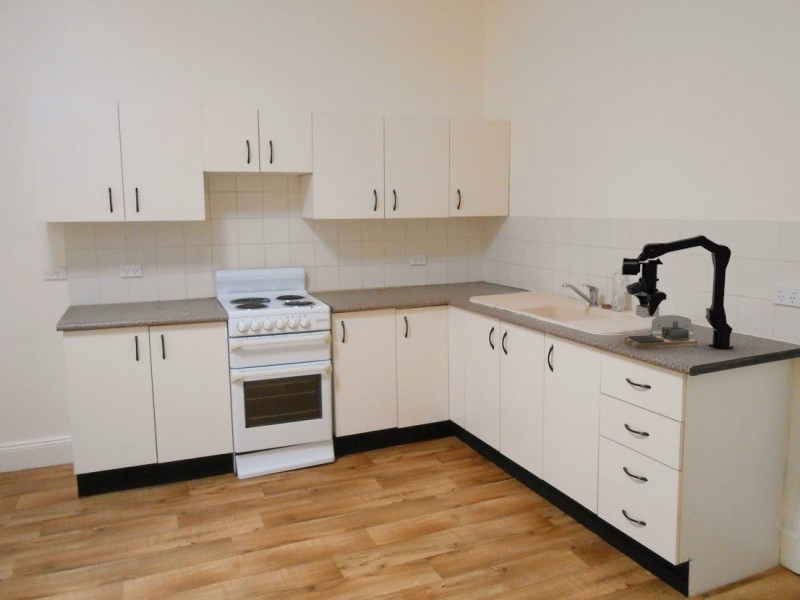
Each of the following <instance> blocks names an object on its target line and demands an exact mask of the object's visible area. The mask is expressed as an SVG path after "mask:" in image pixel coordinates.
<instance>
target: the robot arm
mask: <svg viewBox="0 0 800 600" xmlns="http://www.w3.org/2000/svg"><path fill="white" fill-rule="evenodd" d="M697 247H701V248H703V249H705V250H706V251H708V252H710V254H711V262H712V266H713V279H712V294H711V295H712V297H711V304H710V307H705V310H706V315H705V319H706V320H707V323H708V324H709V325H710V326H711V327H712V329H713V332H712V343H709V344H708V346H710V347H712V348H715V349H721V350H722V349H734V346H732V345H730V344H731V343H730V341H731V334H732V332H733V327H732V326H731V325H729V324H728V323H727V314H726V309H725V305H724V304H725V291H726V288H725V287H726V275H727V274H726V272H727V268H728V265H729V262H730V260H731V256H732V251H731V249H730V247H729V246H726V245H725V244H718V243H716V242H714V240H713V241H712V240H711V239H709V238H707V236H705V235H702V234H698V235H696V236H693V237H687V238H684V239H683V238H682V239H678V240H674V241H668V242H653V243H651V242H650V243H646V244H644V245H643V246H642V250H641V253H640V254H639V255H637V257H636V258H629V257H623V258H622V264H621V275H622V276H638V274H641V277H639V278H638V280H637V281H636V282H633V283H629V284H627V285H626V286H625V288H626V291H627V294H628V295H631V296H634V297H635V298H636V299H638V303H639V305H649V314H650V316H653V315H654V313H655V311H656V309H657V308H658V307H660V304H661V303H662V302H663V301H666V300H667V294H666V292H664V291H661V290H659V288H657V285H658V284H657V283H658V282H660V278H658V265H664V262H662V261H661V259H660V258H659V257H662V256H664V255H666V254H669V253H672V252H677V251H682V250H686V249H691V248H697Z"/></svg>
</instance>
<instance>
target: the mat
mask: <svg viewBox="0 0 800 600" xmlns="http://www.w3.org/2000/svg"><path fill="white" fill-rule="evenodd" d="M628 337H629V338H630V339H632V340H634V341H636V342H638V343H654V342H664V340H662V339H660V338H657V337H655V336H653V335H651V334H650V335H649V334H647V335H629V336H628Z"/></svg>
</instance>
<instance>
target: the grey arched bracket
mask: <svg viewBox="0 0 800 600" xmlns="http://www.w3.org/2000/svg"><path fill="white" fill-rule="evenodd" d="M651 321H652V322H651V329H650V335H653V336H661V334H662V327H673V321H678V326H679V327H681V328H682V329H687V330H689V338H691V339H695V335H694V329H693V324H692V319H690V318H689V317H687V316H681V315H677V314H676V315H675V314H671V315H669V314H668V315H667V314H666V315H662V316H660V315H659V317H653V319H652V320H651Z"/></svg>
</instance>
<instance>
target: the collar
mask: <svg viewBox="0 0 800 600" xmlns="http://www.w3.org/2000/svg"><path fill="white" fill-rule="evenodd" d="M635 309H636V310H635V315H636V316H638V317H641V318H644V319H645V318H656V317H660V306H658V308H657V309H656V311H655V313H654V315H653V316H650V314H649V304H648V305H640V304H636V308H635Z"/></svg>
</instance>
